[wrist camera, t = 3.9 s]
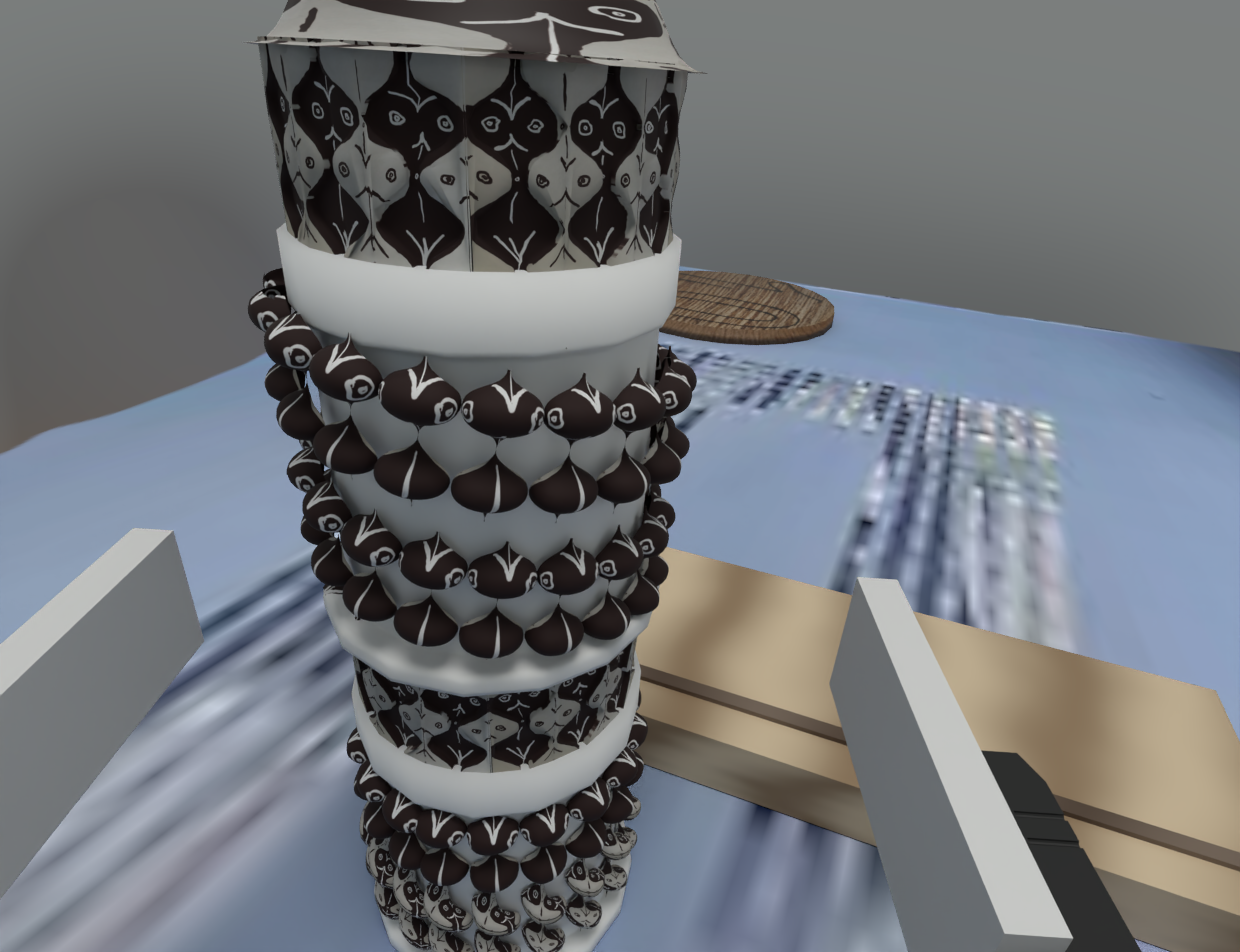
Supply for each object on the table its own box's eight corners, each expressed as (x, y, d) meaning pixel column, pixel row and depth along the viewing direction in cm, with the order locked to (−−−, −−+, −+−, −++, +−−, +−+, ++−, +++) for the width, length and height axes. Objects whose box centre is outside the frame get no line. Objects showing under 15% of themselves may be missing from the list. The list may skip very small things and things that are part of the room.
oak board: (484, 707, 30) (482, 657, 29) (589, 566, 40) (590, 524, 38) (1291, 994, 22) (1339, 943, 21) (1189, 733, 31) (1217, 687, 30)
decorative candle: (351, 784, 27) (204, -46, 15) (590, 723, 30) (628, -3, 18) (372, 1062, 19) (115, -145, 7) (687, 942, 23) (860, -41, 11)
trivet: (656, 276, 100) (657, 261, 99) (843, 304, 92) (846, 289, 91) (581, 322, 79) (581, 305, 78) (814, 363, 72) (817, 345, 71)
